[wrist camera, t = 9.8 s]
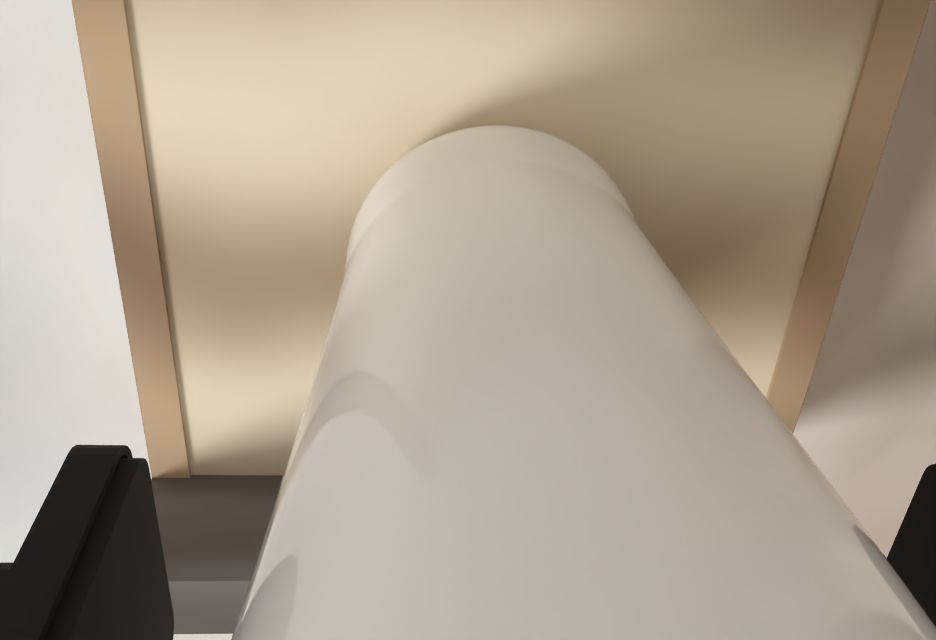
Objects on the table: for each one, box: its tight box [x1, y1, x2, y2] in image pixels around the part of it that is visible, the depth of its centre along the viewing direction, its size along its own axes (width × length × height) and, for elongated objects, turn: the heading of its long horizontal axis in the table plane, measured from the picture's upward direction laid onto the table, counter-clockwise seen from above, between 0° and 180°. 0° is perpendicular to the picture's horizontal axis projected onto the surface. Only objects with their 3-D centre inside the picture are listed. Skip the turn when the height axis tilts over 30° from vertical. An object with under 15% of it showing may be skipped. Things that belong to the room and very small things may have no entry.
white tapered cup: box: [231, 125, 936, 640], centre depth 11 cm, size 7×7×15 cm
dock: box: [72, 0, 931, 634], centre depth 17 cm, size 14×14×6 cm
